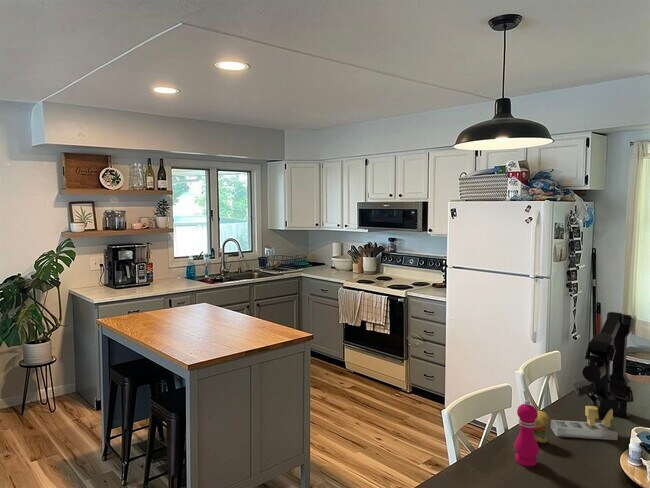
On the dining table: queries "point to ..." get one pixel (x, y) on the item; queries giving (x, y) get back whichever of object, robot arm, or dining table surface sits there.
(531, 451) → the pepper mill
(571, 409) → the dining table surface
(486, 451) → the dining table surface
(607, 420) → the pale yellow block
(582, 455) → the dining table surface
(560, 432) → the grey compartment tray
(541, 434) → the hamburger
